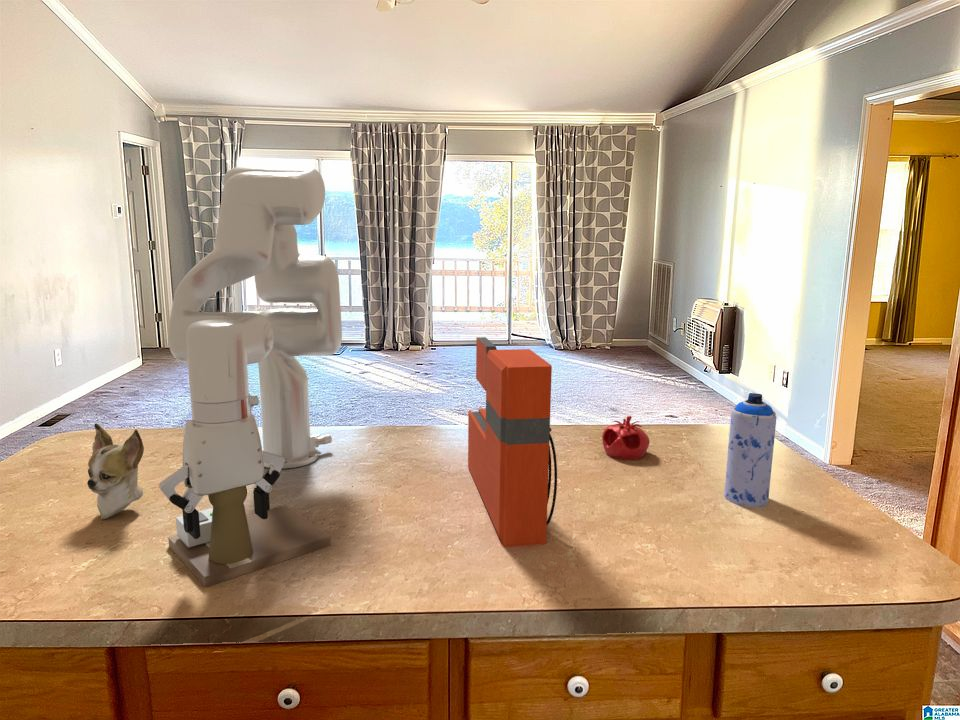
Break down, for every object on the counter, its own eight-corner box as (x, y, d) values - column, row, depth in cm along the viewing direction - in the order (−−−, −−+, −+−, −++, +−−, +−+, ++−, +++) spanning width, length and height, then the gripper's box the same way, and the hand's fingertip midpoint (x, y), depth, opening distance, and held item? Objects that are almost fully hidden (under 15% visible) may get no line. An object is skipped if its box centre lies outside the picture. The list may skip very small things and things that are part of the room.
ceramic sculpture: (70, 518, 111) (60, 432, 108) (115, 499, 119) (107, 418, 116) (117, 529, 107) (108, 440, 104) (160, 509, 115) (153, 425, 112)
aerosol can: (769, 497, 123) (780, 392, 119) (768, 512, 116) (779, 401, 112) (724, 489, 126) (733, 387, 122) (720, 504, 119) (729, 396, 115)
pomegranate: (613, 446, 151) (615, 407, 149) (655, 455, 145) (658, 414, 144) (593, 458, 143) (595, 416, 141) (637, 468, 138) (640, 424, 136)
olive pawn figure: (262, 548, 98) (258, 477, 96) (234, 567, 92) (230, 492, 90) (228, 541, 100) (224, 471, 98) (199, 559, 94) (194, 485, 92)
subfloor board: (285, 512, 114) (285, 504, 114) (330, 544, 102) (330, 535, 102) (169, 546, 101) (168, 536, 101) (205, 587, 90) (204, 576, 90)
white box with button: (217, 524, 105) (215, 505, 104) (229, 535, 101) (228, 515, 100) (177, 535, 101) (175, 516, 100) (188, 547, 97) (186, 527, 96)
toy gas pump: (509, 466, 138) (512, 331, 132) (560, 543, 104) (566, 366, 98) (464, 469, 136) (465, 331, 130) (501, 548, 102) (504, 367, 97)
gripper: (269, 395, 100) (274, 501, 103) (145, 414, 89) (156, 534, 92) (291, 404, 95) (297, 517, 98) (163, 427, 83) (173, 553, 87)
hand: (228, 525), depth 95 cm, fingers open, 9 cm apart
